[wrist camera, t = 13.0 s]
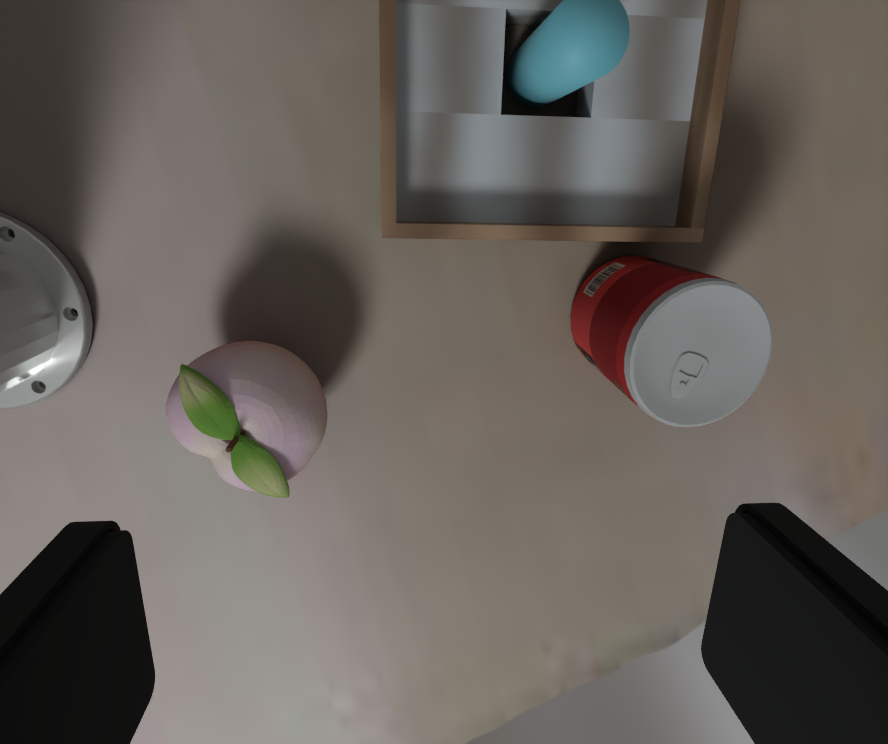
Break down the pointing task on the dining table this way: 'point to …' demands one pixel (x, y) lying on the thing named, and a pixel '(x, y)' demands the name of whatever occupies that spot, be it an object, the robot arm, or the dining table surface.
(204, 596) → the dining table surface
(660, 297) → the canned food
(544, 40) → the peg
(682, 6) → the bore box
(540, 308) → the dining table surface
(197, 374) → the decorative fruit
